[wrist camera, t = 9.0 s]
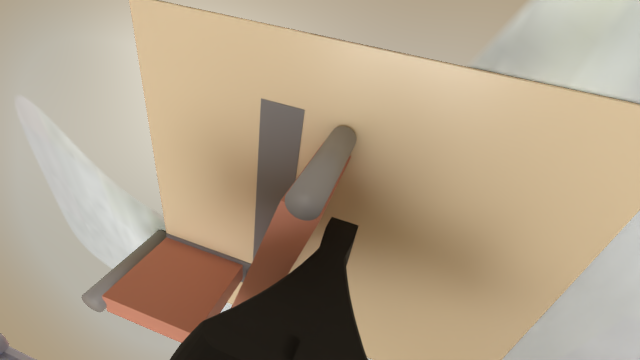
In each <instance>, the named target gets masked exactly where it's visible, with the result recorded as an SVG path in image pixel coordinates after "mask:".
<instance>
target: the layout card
mask: <svg viewBox="0 0 640 360" xmlns="http://www.w3.org/2000/svg"><path fill="white" fill-rule="evenodd" d="M129 3H130V9H131V15H132V22H133V28H134V34H135V40H136V47H137V52H138V59H139V65H140V71H141V77H142V84H143V90H144V96H145V102H146V108H147V115H148V121H149V127H150V134H151V140H152V145H153V152H154V158H155V165H156V171H157V177H158V183H159V189H160V196H161V202H162V208H163V214H164V221H165V227H166V237H167V238H170V239H173V240H175V241H178V242H181V243H184V244H186V245H189V246H192V247H194V248H197V249H200V250H203V251H205V252H208V253H211V254H214V255H216V256H219V257H222V258H225V259H227V260H230V261H233V262H236V263H238V264H241V265H243V279H242V281H241V282H240V284H239V285H238V287H237V288H236V290H235V291H234V293H233V294H232V296H231V297H230V299H229V300H228V302H227V303H230V304H233V303H234V301H235V299H236V296H237V294H238V292H239V290H240V288H241V285H242V283H243V281H244V279H245V277H246V275H247V272H248V270H249V268H250V266H251V264H252V262H253V259H254V257H255V255H256V253H257V251H258V249H259V246H260V244H261V242H262V240H263V238H264V236H265V233H266V231H267V229H268V227H269V225H270V223H271V220H272V218H273V216H274V214H275V212H276V210H277V207H278V205H279V203H280V201H281V199H282V198H283V197H284V195H285V194H286V193H287V191H288V190H289V188H290V187H291V186H292V184H293V183H294V182H295V180H296V179H297V178H298V176H299V175H300V174H301V172H302V171H303V169H304V168H305V167H306V165H307V164H308V163H309V161H310V160H311V159H312V157H313V156H314V155H315V153H316V152H317V151H318V149H319V148H320V146H321V145H322V144H323V142H325V140H326V139H327V138H328V136H329V135H330V134H331V132H332V131H333V130H334V129H335V128H336V127H339V126H346V127H349V128H351V129H352V130H353V131H354V133H355V135H356V139H357V140H356V144H355V146H354V148H353V150H352V152H351V154H350V156H351V158H350V161H349V163H348V165H347V167H346V169H345V171H344V173H343V175H342V177H341V179H340V181H339V183H338V185H337V187H336V189H335V191H334V193H333V195H332V197H331V199H330V201H329V203H328V205H327V207H326V209H325V211H324V213H323V215H322V217H321V219H320V222H319V223H318V225H317V227H316V228H315V230H314V232H313V233H312V235H311V237H310V238H309V240H308V242H307V243H306V245H305V247H304V248H303V250H302V252H301V253H300V255H299V257H298V258H297V260H296V262H295V263H294V265H293V267H292V268H291V270H290V272H292V271H293V270H294V269H296V268H297V267H298V266H299V265H301V264H302V263H303V262H304V261H305V260H306V259H307V258H309V257H310V256H311V255H312V254H313V253H314V252H315V251H316V250H317V249H318V248H319V247H320V244H321V240H322V237H323V234H324V231H325V228H326V226H327V224H328V222H329V221H330V219H331V217H334V218H337V219H340V220H343V221H347V222H350V223H353V224H356V225H359V226H358V229H357V233H356V236H355V239H354V243H353V246H352V249H351V253H350V256H349V259H348V263H347V266H346V269H347V278H348V286H349V292H350V298H351V303H352V307H353V312H354V316H355V320H356V324H357V327H358V331H359V334H360V337H361V341H362V344H363V348H364V350H365V353H366V356H367V357H368V358H370V359H373V360H502V359H503V358H504V356H505V355H506V354H507V353H508V352H509V351H510V350H511V349H512V348H513V347H514V346H515V345H516V343H517V342H518V341H519V340H520V339H521V338H522V337H523V336H524V335H525V334H526V333H527V332H528V330H529V329H530V328H531V327H532V326H533V325H534V324H535V323H536V322H537V321H538V320H539V319H540V317H541V316H542V315H543V314H544V313H545V312H546V311H547V310H548V309H549V308H550V307H551V306H552V304H553V303H554V302H555V301H556V300H557V299H558V298H559V297H560V296H561V295H562V294H563V293H564V291H565V290H566V289H567V288H568V287H569V286H570V285H571V284H572V283H573V282H574V281H575V280H576V278H577V277H578V276H579V275H580V274H581V273H582V272H583V271H584V270H585V269H586V268H587V267H588V265H589V264H590V263H591V262H592V261H593V260H594V259H595V258H596V257H597V256H598V255H599V254H600V252H601V251H602V250H603V249H604V248H605V247H606V246H607V245H608V244H609V243H610V242H611V241H612V239H613V238H614V237H615V236H616V235H617V234H618V233H619V232H620V231H621V230H622V229H623V228H624V226H625V225H626V224H627V223H628V222H629V221H630V220H631V219H632V218H633V217H634V216H635V215H636V213H637V212H638V211H639V210H640V104H637V103H632V102H627V101H623V100H618V99H613V98H609V97H604V96H600V95H595V94H590V93H586V92H581V91H576V90H572V89H567V88H562V87H558V86H553V85H549V84H544V83H539V82H535V81H530V80H525V79H521V78H516V77H511V76H507V75H502V74H498V73H493V72H488V71H484V70H479V69H474V68H470V67H465V66H460V65H455V64H451V63H447V62H442V61H437V60H433V59H428V58H423V57H419V56H414V55H409V54H405V53H400V52H395V51H391V50H386V49H382V48H377V47H372V46H368V45H363V44H358V43H353V42H349V41H345V40H340V39H335V38H330V37H325V36H321V35H317V34H312V33H307V32H302V31H298V30H294V29H289V28H284V27H280V26H274V25H270V24H265V23H261V22H256V21H252V20H247V19H242V18H238V17H233V16H229V15H223V14H219V13H215V12H210V11H205V10H201V9H196V8H191V7H187V6H182V5H178V4H173V3H168V2H164V1H159V0H129ZM290 272H289V273H290ZM289 273H288V274H289Z"/></svg>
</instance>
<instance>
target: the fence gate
mask: <svg viewBox="0 0 640 360" xmlns="http://www.w3.org/2000/svg"><path fill="white" fill-rule="evenodd" d="M356 140H357V139H356V135H355V133H354V131H353V130H352V129H351V128H349V127H346V126H339V127H336V128H335V129H334V130H333V131H332V132H331V134H330V135H329V136H328V138H327V139H326V140H325V142H323V144H322V145H321V146H320V148H319V149H318V151H317V152H316V153H315V155H314V156H313V157H312V159H311V160H310V161H309V163H308V164H307V165H306V167H305V168H304V169H303V171H302V172H301V174H300V175H299V176H298V178H297V179H296V180H295V182H294V183H293V184H292V186H291V187H290V188H289V190H288V191H287V193H286V194H285V195H284V197H283V198H282V199H281V201H280V203H279V205H278V207H277V210H276V212H275V214H274V216H273V218H272V220H271V223H270V225H269V227H268V229H267V231H266V233H265V236H264V238H263V240H262V242H261V244H260V246H259V249H258V251H257V253H256V255H255V257H254V259H253V262H252V264H251V266H250V268H249V270H248V272H247V275H246V277H245V279H244V281H243V283H242V285H241V288H240V290H239V292H238V294H237V296H236V299H235V301H234V303H233V305H232V307H231V308H233V307H235V306H237V305H239V304H240V303H242V302H244V301H246V300H248V299H250V298H251V297H253V296H255V295H257V294H259V293H261V292H262V291H264V290H265V289H267V288H269V287H270V286H272V285H273V284H275V283H276V282H278V281H279V280H281V279H282V278H284V277H285V276H286V275H288V273H289V272H290V270H291V268H292V267H293V265H294V263H295V262H296V260H297V258H298V257H299V255H300V253H301V252H302V250H303V248H304V247H305V245H306V243H307V242H308V240H309V238H310V237H311V235H312V233H313V232H314V230H315V228H316V227H317V225H318V223H319V222H320V219H321V217H322V215H323V213H324V211H325V209H326V207H327V205H328V203H329V201H330V199H331V197H332V195H333V193H334V191H335V189H336V187H337V185H338V183H339V181H340V179H341V177H342V175H343V173H344V171H345V169H346V167H347V165H348V163H349V161H350V158H351V156H350V154H351V152H352V150H353V148H354V146H355V144H356Z"/></svg>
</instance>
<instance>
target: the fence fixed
mask: <svg viewBox="0 0 640 360" xmlns="http://www.w3.org/2000/svg"><path fill="white" fill-rule="evenodd" d="M242 279H243V265H241V264H238V263H236V262H233V261H230V260H227V259H225V258H222V257H219V256H216V255H214V254H211V253H208V252H205V251H203V250H200V249H197V248H194V247H192V246H189V245H186V244H184V243H181V242H178V241H175V240H173V239H170V238H167V237H166V232H165V231H162V230H159V231H157V232H156V233H155V234H154V235H152V236H151V237H150V238H149V239H148V240H147V241H145V242H144V243H143V244H142V245H141V246H139V247H138V248H137V249H136V250H135V251H134V252H132V253H131V254H130V255H129V256H128V257H127V258H125V259H124V260H123V261H122V262H121V263H120V264H118V265H117V266H116V267H115V268H114V269H113V270H111V271H110V272H109V273H108V274H107V275H105V276H104V277H103V278H102V279H101V280H100V281H99V282H97V283H96V284H95V285H94V286H93V287H92V288H90V289H89V290H88V291H87V292H86V293H84V294H83V295H82V300H83V301H84V303H85V304H86V305H87V306H88V307H90V308H91V309H93V310H95V311H97V312H102V311H103V310H104V309H105V308H107V311H108V312H111V313H113V314H115V315H118V316H120V317H123V318H125V319H127V320H129V321H132V322H134V323H136V324H139V325H141V326H143V327H146V328H148V329H150V330H153V331H155V332H157V333H160V334H162V335H164V336H167V337H169V338H171V339H174V340H176V341H179V342H181V343H182V342H183V341H184V340H185V339H186V338H187V336H188V335H189V334H190V333H191V332H192V331H193V330H194V329H195V328H196V327H197V326H198V325H199V324H200V323H201V322H202V321H204V320H206V319H208V318H210V317H213V316H215V315H217V314H219V313H220V312H221V311H222V309H223V308H224V306H225V305H226V303H227V302H228V300H229V299H230V297H231V296H232V294H233V293H234V291H235V290H236V288H237V287H238V285H239V284H240V282H241V281H242Z"/></svg>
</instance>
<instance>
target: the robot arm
mask: <svg viewBox="0 0 640 360" xmlns="http://www.w3.org/2000/svg"><path fill="white" fill-rule="evenodd" d="M358 226H359V225H356V224H353V223H350V222H347V221H343V220H340V219H337V218H334V217H331V219H330V221H329V222H328V224H327V226H326V228H325V231H324V234H323V237H322V240H321V244H320V247H319V248H318V249H317V250H316V251H315V252H314V253H313V254H312V255H311V256H310V257H309V258H307V259H306V260H305V261H304V262H303V263H302V264H301V265H299V266H298V267H297V268H296V269H294V270H293V271H292V272H290V273H289V274H288V275H286V276H285V277H284V278H282V279H281V280H279V281H278V282H276V283H275V284H273V285H272V286H270V287H269V288H267V289H265V290H264V291H262V292H261V293H259V294H257V295H255V296H253V297H251V298H250V299H248V300H246V301H244V302H242V303H240V304H239V305H237V306H235V307H233V308H231V309H228V310H226V311H224V312H222V313H219V314H217V315H215V316H213V317H210V318H208V319H206V320H204V321H202V322H201V323H200V324H199V325H198V326H197V327H196V328H195V329H194V330H193V331H192V332H191V333H190V334H189V335H188V336H187V338H186V339H185V340H184V341H183V342H182V343H181V345H180V346H179V347H178V349H177V350H176V352H175V353H174V354H173V356H172V357H171V359H170V360H368V359H367V356H366V353H365V350H364V348H363V344H362V341H361V337H360V334H359V331H358V327H357V324H356V320H355V316H354V312H353V307H352V303H351V298H350V292H349V286H348V278H347V269H346V266H347V263H348V259H349V256H350V253H351V249H352V246H353V243H354V239H355V236H356V233H357V229H358ZM0 360H36V359H34V358H32V357H30V356H28V355H26V354H24V353H22V352H20V351H18V350H16V349H14V348H12V347H10V346H9V343H8V342H7V340H6V338H5V337H4V336H3V335H2V334H1V333H0Z"/></svg>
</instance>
